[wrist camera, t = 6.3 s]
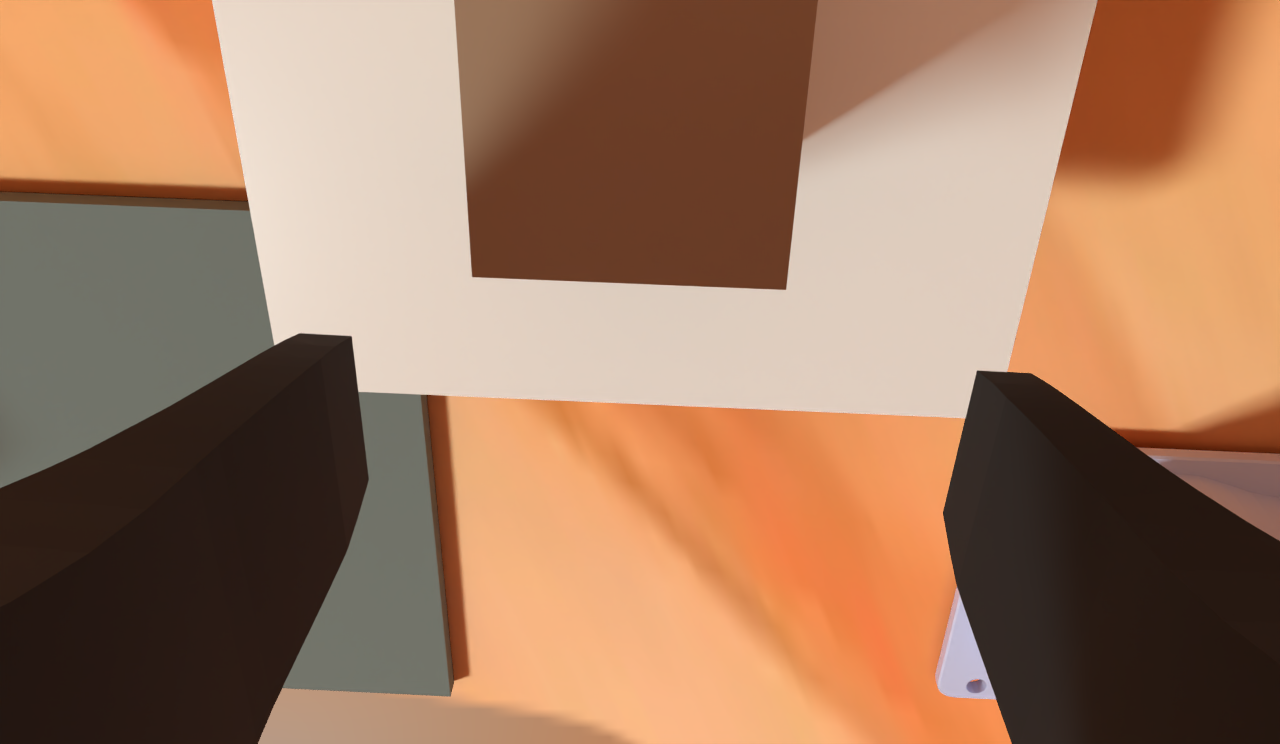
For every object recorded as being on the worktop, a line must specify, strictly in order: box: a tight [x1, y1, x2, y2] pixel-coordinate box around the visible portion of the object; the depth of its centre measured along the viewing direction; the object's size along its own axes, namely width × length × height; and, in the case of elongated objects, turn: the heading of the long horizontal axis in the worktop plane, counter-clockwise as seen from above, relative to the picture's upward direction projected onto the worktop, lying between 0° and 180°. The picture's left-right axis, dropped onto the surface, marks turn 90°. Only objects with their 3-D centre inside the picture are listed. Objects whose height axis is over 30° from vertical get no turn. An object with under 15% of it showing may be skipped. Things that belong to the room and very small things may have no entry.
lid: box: [212, 0, 1097, 418], centre depth 13 cm, size 12×12×5 cm
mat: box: [0, 192, 454, 696], centre depth 25 cm, size 14×14×1 cm
